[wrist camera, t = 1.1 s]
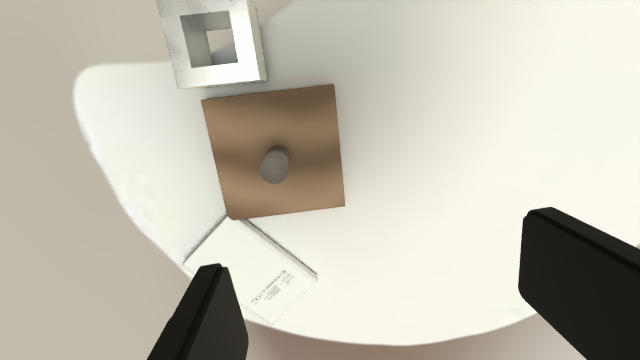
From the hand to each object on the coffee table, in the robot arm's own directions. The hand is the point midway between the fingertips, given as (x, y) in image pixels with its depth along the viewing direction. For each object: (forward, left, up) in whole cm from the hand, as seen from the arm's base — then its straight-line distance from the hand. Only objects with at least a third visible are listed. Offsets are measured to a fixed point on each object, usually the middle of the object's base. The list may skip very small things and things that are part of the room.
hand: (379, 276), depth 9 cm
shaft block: (0, -5, -22) cm, 22 cm away
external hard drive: (+13, -10, -22) cm, 27 cm away
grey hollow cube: (-10, -8, -22) cm, 25 cm away
